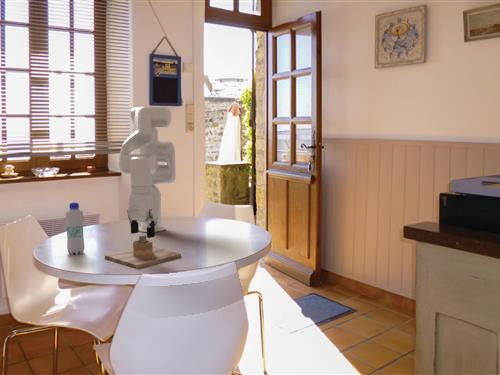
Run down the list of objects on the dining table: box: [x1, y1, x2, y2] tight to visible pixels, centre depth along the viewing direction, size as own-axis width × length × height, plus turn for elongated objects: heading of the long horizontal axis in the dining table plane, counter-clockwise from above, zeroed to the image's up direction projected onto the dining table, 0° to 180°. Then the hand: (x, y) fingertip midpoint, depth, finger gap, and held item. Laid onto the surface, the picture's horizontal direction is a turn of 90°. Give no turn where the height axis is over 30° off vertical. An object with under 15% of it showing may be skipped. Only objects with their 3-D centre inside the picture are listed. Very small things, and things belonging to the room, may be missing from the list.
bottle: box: [64, 202, 85, 256], centre depth 186 cm, size 7×7×20 cm
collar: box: [132, 238, 154, 257], centre depth 181 cm, size 7×7×5 cm
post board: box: [104, 235, 182, 270], centre depth 181 cm, size 20×20×8 cm
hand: (142, 235), depth 181 cm, fingers open, 9 cm apart
